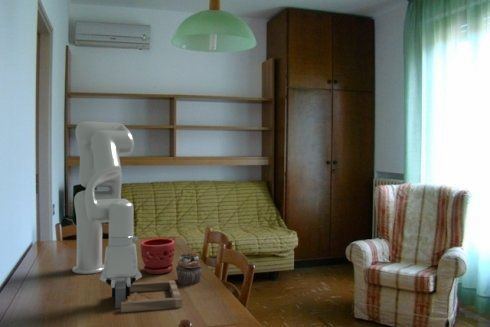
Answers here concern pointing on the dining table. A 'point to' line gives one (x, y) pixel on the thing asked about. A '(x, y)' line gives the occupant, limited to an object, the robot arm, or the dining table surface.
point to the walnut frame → (153, 303)
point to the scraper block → (120, 292)
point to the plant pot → (158, 255)
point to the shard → (138, 297)
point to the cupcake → (188, 269)
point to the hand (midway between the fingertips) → (120, 298)
